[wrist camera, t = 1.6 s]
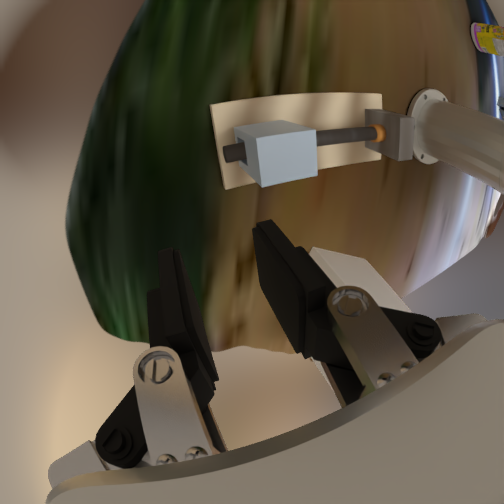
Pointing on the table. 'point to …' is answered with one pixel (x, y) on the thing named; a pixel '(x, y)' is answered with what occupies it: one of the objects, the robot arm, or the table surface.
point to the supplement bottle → (488, 38)
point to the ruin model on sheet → (503, 103)
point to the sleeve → (278, 151)
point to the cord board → (316, 128)
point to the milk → (356, 280)
